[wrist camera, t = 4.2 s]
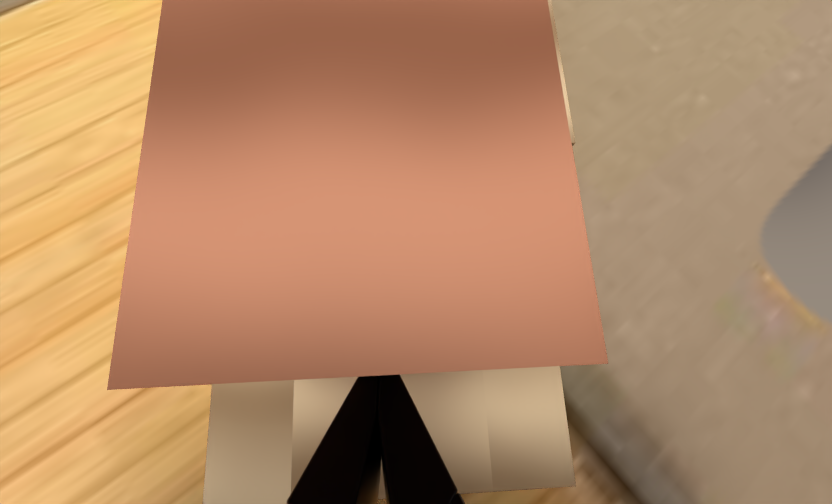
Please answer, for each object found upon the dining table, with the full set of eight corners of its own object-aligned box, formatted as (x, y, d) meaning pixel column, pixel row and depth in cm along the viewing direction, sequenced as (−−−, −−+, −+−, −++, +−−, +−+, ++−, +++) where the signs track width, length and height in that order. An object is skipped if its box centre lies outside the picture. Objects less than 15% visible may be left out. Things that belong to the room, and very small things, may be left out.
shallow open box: (589, 473, 17) (635, 501, 13) (189, 499, 16) (133, 536, 13) (519, -6, 23) (539, -68, 20) (232, -3, 23) (202, -67, 19)
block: (474, 360, 16) (608, 363, 6) (301, 369, 16) (107, 389, 5) (459, 181, 18) (537, -60, 8) (306, 186, 18) (170, -59, 8)
